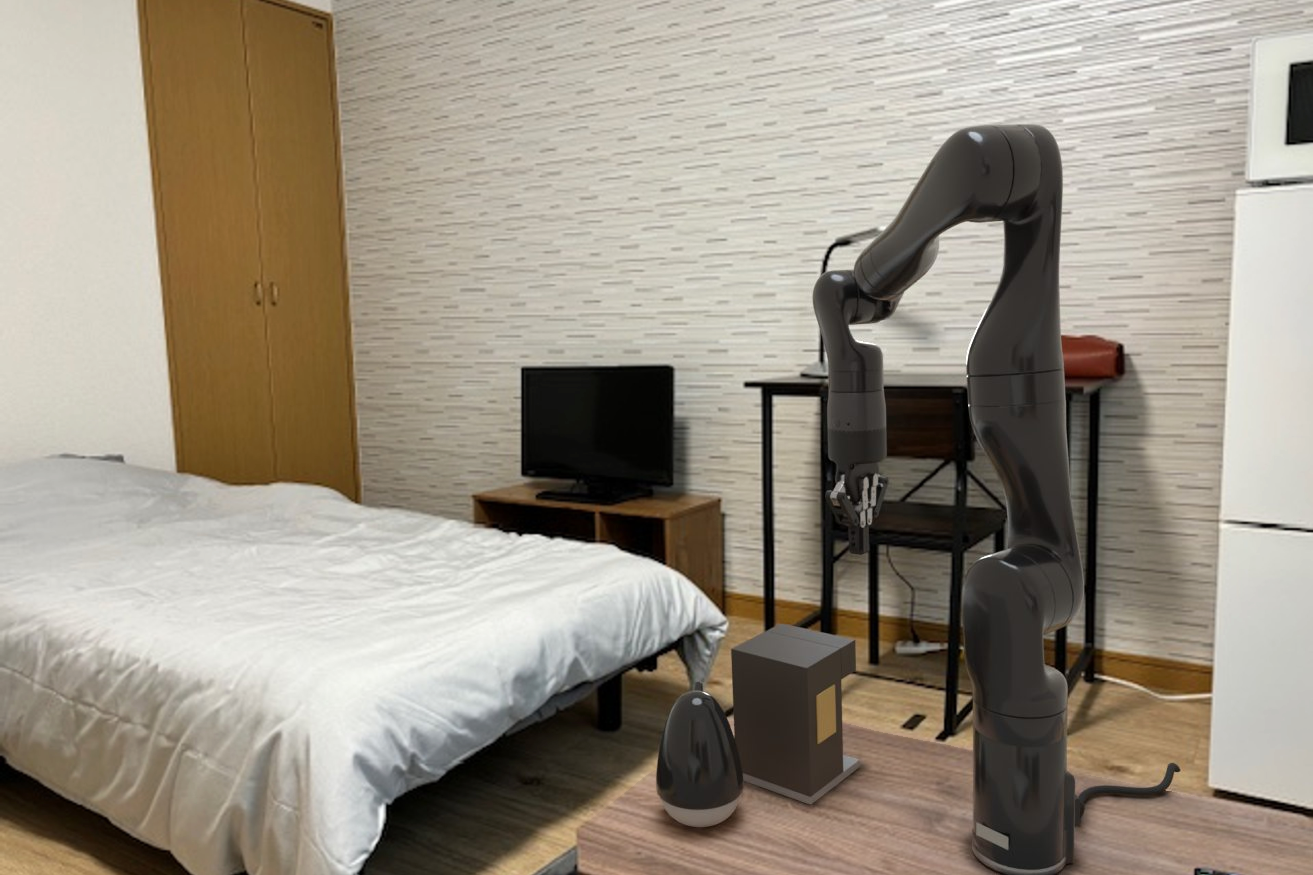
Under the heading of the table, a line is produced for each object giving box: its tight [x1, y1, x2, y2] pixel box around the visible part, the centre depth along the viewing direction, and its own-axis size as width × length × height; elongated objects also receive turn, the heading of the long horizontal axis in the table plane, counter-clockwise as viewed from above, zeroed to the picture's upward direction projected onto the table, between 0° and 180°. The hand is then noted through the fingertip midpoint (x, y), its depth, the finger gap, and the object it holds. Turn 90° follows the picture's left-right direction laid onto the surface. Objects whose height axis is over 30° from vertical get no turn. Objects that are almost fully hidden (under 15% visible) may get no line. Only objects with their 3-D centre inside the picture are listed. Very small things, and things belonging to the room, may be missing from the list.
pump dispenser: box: [655, 681, 745, 828], centre depth 115 cm, size 10×10×15 cm
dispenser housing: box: [730, 623, 861, 805], centre depth 123 cm, size 12×11×17 cm
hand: (859, 552), depth 132 cm, fingers closed
